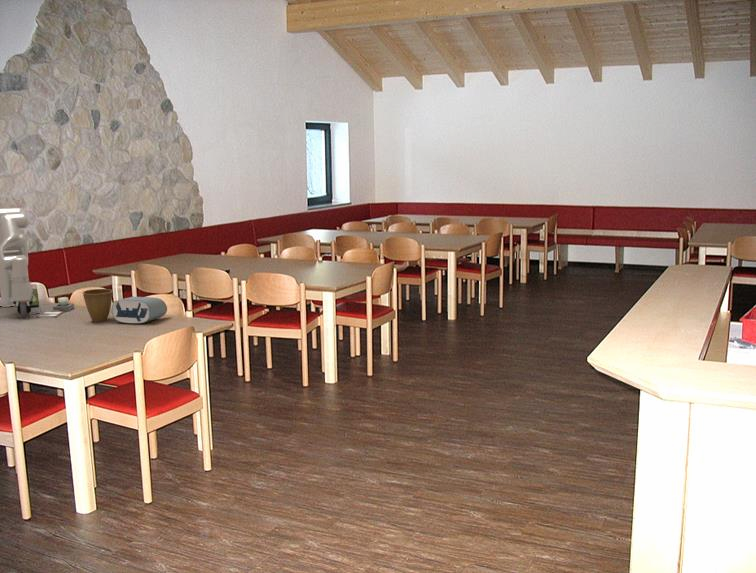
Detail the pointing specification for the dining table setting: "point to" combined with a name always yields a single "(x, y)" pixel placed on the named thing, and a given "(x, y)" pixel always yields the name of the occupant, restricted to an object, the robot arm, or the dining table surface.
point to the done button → (62, 301)
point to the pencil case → (138, 309)
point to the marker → (23, 309)
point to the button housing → (64, 307)
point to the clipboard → (51, 313)
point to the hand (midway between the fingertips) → (24, 312)
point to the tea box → (36, 303)
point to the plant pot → (98, 303)
